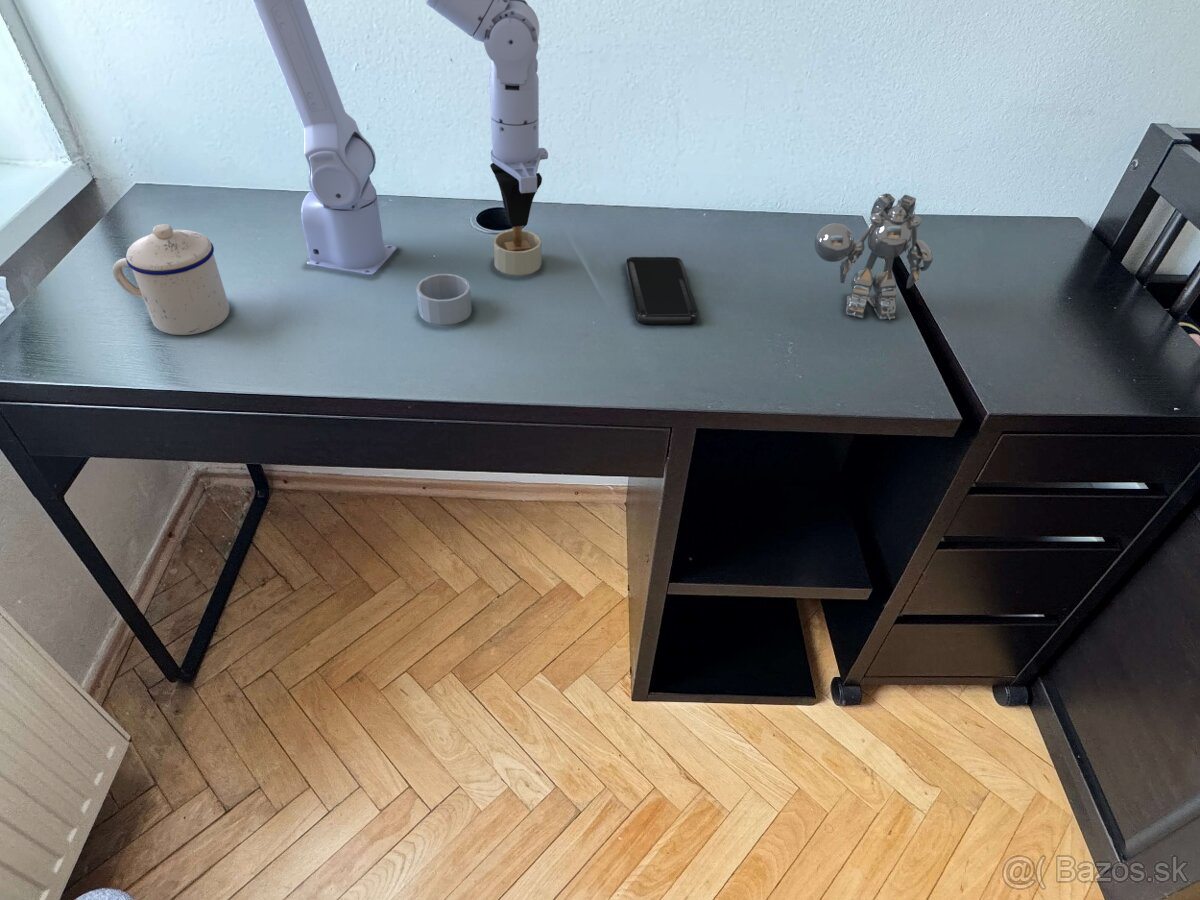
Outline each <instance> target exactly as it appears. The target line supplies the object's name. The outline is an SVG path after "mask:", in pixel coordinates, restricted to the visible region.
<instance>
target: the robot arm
mask: <svg viewBox="0 0 1200 900" xmlns="http://www.w3.org/2000/svg"><path fill="white" fill-rule="evenodd" d="M251 1H252V4H253V6H254V8H255V11H256V13H257V16H258V18H259V21H260V23H261V25H262V28H263V30H264V34H265V35H266V38H267V40H268V43H269V45H270V48H271V50H272V53H273V55H274V58H275V61H276V62H277V65H278V67H279V70H280V73H281V75H282V77H283V79H284V82H285V84H286V87H287V89H288V92H289V94H290V97H291V99H292V101H293V104H294V107H295V109H296V111H297V115H298V117H299V119H300V121H301V124H302V127H303V133H304V137H303V139H304V141H303V147H304V148H303V149H304V151H303V152H304V157H305V159H306V162H307V165H308V170H309V172H308V185H309V188H310V191H309V192H307V194H306V195H305V196H304V199H303V201H302V204H301V209H300V216H301V224H302V230H303V234H304V239H305V243H306V249H307V253H308V257H309V258H308V259H309V260H308V261H307V262H306V264H307V265H309V266H312V267H313V266H314V267H320V268H324V269H325V268H326V269H331V270H338V271H342V272H343V271H344V272H349V273H355V274H361V275H367V276H373V275H375V274H376V273H377V272H378V270H379V269H380V268H381V267H382V266H383V265H384V264H385V263H386V261H387V260H388V259H389V258H390V257H391V256H392V255H393V254H394V253H395V251H396V250H397V249H398V248H397V246H395V245H390V244H385V243H384V237H383V230H382V223H381V215H380V209H379V203H378V195H377V190H376V188H375V186H374V185H373V182H372V180H371V175H372V173H373V172H374V170H375V168H376V165H377V163H376V162H377V158H376V157H377V156H376V153H375V150H374V148H373V146H372V145H371V143H370V142H369V141H368V140H367V139H366V137H364V136H363V135H362V133H361V131H360V129H359V127H358V124H357V121H356V120H355V119H354V118H353V117H352V116H350V115H349V114H348V113H347V112H346V111H345V107H344V104H343V101H342V99H341V97H340V94H339V91H338V88H337V85H336V82H335V80H334V77H333V75H332V72H331V69H330V67H329V63H328V61H327V58H326V56H325V53H324V50H323V47H322V45H321V42H320V39H319V36H318V34H317V31H316V29H315V26H314V23H313V20H312V17H311V15H310V12H309V9H308V7H307V4H306V1H305V0H251ZM424 1H425V4H426V5H427V6H429V7H430V8H431V9H432V10H434V11H435V12H436V13H438V14H439V15H441V16H442V17H443V18H445V19H446V20H447V21H449V22H450V23H451V24H453V25H454V26H455V27H458V28H459V29H460V30H461V31H463V32H464V33H466V35H468V36H470V37H472V39H473V40H475V41H478V42H481V43H483V45H484V50H485V52H486V54H487V56H488V57H489V59H490V74H489V77H488V78H489V79H488V81H489V99H490V100H489V101H490V102H489V103H490V105H489V106H490V125H491V126H490V127H491V128H490V130H491V150H490V160H491V162H492V163H490V165H489V167H490V169H491V172H493V174H494V178H495V180H496V181H497V184H498V187H499V190H500V194H501V199H502V204H503V209H504V213H505V215H506V218H507V220H508V222H509V225H510V227H511V228H513V227H517V226H522V227H525V226H528V225H527V224H528V221H529V217H530V212H531V209H532V205H533V201H534V198H535V196H536V194H537V193H538V190H539V188H540V186H541V185H542V182H543V177H542V175H541V173H540V172H538V169H539V166H540V162H541V161H542V160H547V159H549V152H548V150H547V149H546V148H545V147H539V146H540V145H539V144H540V142H539V138H540V137H539V136H540V134H539V130H540V127H539V124H540V123H539V121H540V120H539V118H540V113H539V111H540V110H539V109H540V107H539V106H540V105H539V103H540V102H539V101H540V99H539V97H540V96H539V95H540V94H539V93H540V92H539V91H540V90H539V87H540V86H539V84H540V83H539V82H540V81H539V75H538V73H537V72H538V69H539V61H538V59H537V54H538V51H539V39H540V38H539V37H540V30H541V29H540V28H541V27H540V22H539V19H538V15H537V14H536V12H535V10H534V9H533V8H532V7H531V6H530V5H529V4H528V2H527V1H526V0H424Z"/></svg>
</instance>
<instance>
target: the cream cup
mask: <svg viewBox="0 0 1200 900" xmlns="http://www.w3.org/2000/svg"><path fill="white" fill-rule="evenodd" d="M525 240H527V241H528V243H529V245H530V247H531V249H530V250H526V251H509V250H505V249H504V243H505V242H513V229H509V230H504V231H501V232H499V233H498V234H496V235H495V236H494V237H493V239H492V247H493V248H492V249H493V250H492V251H493V265H494V267H495V269H497V270H498V271H499V272H501V273H502V274H506V275H510V276H527V275H530V274H534V273H536V272H537V271H539V269H540V268H541V266H542V265H543V262H542V261H543V260H542V259H543V256H542V255H543V254H542V253H543V252H542V251H543V248H542V247H543V244H542V238H541V237H540V235H538V234H537V233H535V232H533V231H530V230H525V229H522V241H525Z"/></svg>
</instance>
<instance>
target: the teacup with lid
mask: <svg viewBox="0 0 1200 900" xmlns="http://www.w3.org/2000/svg"><path fill="white" fill-rule="evenodd" d="M214 252H215V248H214V244H213V243H212V242H211V240H210V239H209V238H208V237H207V236H206V235H204V234H203V233H200V232H197V231H194V230H188V229H174V228H173V227H172V226H171V225H169V224H167V223H160V224H157V225H155V226H153V228H152V233H150V234H147V235H145V236H143V237H141V238H139V239H137V240H136V241H134V242H133V243H132V244H131V245H130V246H129V247H128V249H127V251H126V257H122V258H120V259H118V260H117V261H116V262H115V263H114V264H113V267H112V275H113V277H114V279H115V281H116V282H117V283H118V285H119V286H120V287H121V288H122V290H124V291H125V292H126V293H127V294H129V295H131V296H133V297H135V298H139V299H143V301H144V304H145V306H146V309H147V312H148V315H149V317H150V320H151V323H152V324H153V327H155V328H156V329H157V330H159V331H161V332H162V333H165V334H168V335H174V336H190V335H197V334H201V333H204V332H208V331H211V330H212V329H214V328H217V327H218V326H219V325H221V324H222V323H223V322H224V321H225V320H226V319H227V318H228V316H229V314H230V311H231V310H230V304H229V301H228V298H227V294H226V291H225V288H224V284H223V281H222V277H221V273H220V271H219V268H218V264H217V261H216V258H215V255H214ZM124 267H127V268H130V269H131V270H132V273H133V275H134V278H135V280H136V284H137V285H138V287H137V286H135V285H134V284H133V283H132V282H131V281H129V279H128V278H127V277H126V275H125V273H124V270H123V268H124Z"/></svg>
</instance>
